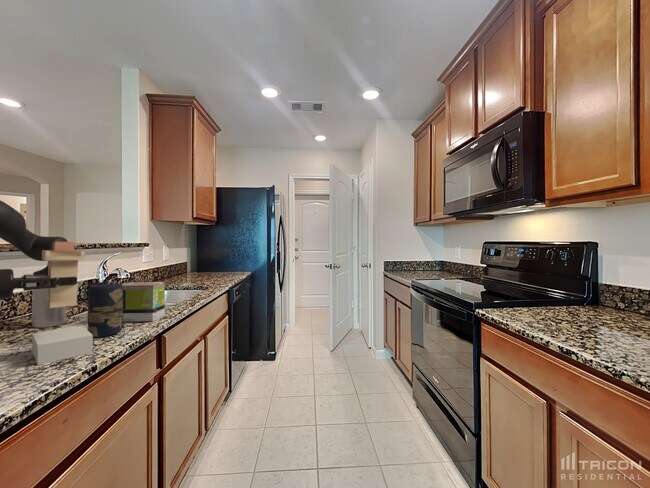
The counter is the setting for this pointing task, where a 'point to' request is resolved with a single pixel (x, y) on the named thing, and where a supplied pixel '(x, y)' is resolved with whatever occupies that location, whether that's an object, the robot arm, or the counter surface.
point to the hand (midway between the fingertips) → (74, 279)
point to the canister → (105, 309)
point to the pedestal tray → (62, 267)
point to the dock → (61, 344)
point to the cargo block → (63, 246)
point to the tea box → (143, 301)
